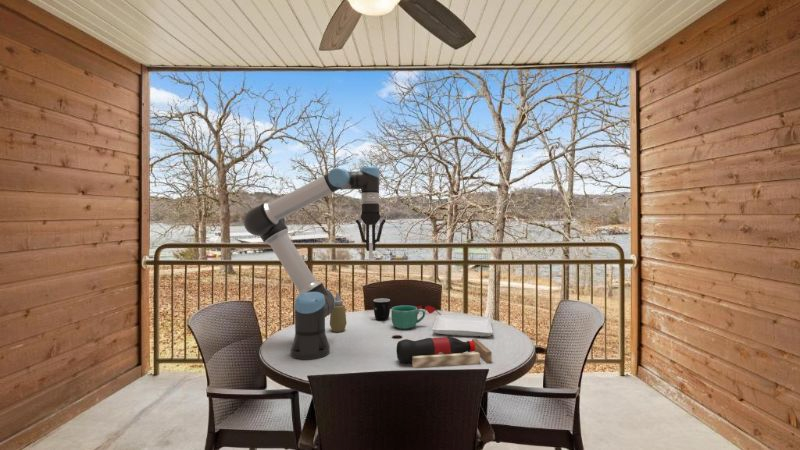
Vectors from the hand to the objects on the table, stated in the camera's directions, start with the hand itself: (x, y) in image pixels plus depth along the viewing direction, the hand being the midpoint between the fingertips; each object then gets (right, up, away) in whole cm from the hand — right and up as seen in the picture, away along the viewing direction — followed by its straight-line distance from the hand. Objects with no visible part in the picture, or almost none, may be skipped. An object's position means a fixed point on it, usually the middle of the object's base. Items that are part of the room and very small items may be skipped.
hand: (370, 258), depth 172 cm
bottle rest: (+30, -37, -17) cm, 51 cm away
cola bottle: (+11, -33, -22) cm, 41 cm away
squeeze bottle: (-17, -36, +20) cm, 45 cm away
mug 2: (+17, -36, +26) cm, 47 cm away
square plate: (+42, -36, +22) cm, 60 cm away
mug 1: (+3, -36, +40) cm, 54 cm away
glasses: (+27, -36, +46) cm, 64 cm away
